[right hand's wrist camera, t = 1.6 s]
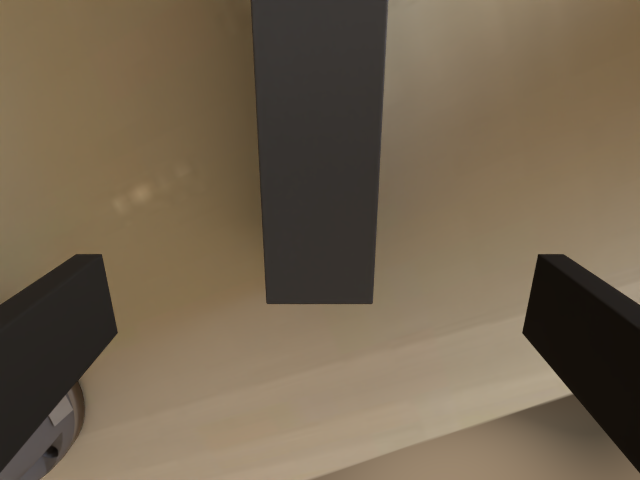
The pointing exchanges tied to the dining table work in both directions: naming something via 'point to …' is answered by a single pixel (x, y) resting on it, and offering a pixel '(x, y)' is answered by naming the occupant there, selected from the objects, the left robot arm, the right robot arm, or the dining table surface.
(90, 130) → the dining table surface
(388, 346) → the dining table surface
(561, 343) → the right robot arm
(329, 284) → the beam
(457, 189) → the dining table surface
